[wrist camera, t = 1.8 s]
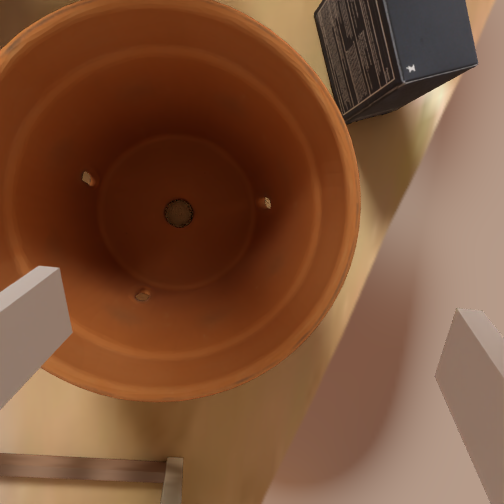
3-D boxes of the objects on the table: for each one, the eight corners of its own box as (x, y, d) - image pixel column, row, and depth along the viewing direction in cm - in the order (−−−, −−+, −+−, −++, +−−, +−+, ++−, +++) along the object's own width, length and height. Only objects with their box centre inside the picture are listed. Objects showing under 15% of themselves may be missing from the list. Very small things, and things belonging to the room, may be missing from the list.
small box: (401, 110, 36) (485, 66, 26) (339, 127, 35) (401, 88, 25) (375, -3, 35) (453, -98, 24) (311, 12, 34) (363, -80, 23)
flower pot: (95, 52, 31) (9, -94, 17) (321, 138, 35) (413, 79, 20) (25, 290, 32) (-116, 350, 17) (254, 349, 36) (296, 439, 21)
